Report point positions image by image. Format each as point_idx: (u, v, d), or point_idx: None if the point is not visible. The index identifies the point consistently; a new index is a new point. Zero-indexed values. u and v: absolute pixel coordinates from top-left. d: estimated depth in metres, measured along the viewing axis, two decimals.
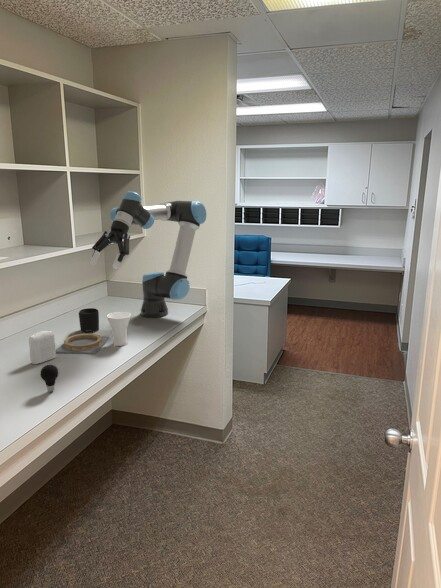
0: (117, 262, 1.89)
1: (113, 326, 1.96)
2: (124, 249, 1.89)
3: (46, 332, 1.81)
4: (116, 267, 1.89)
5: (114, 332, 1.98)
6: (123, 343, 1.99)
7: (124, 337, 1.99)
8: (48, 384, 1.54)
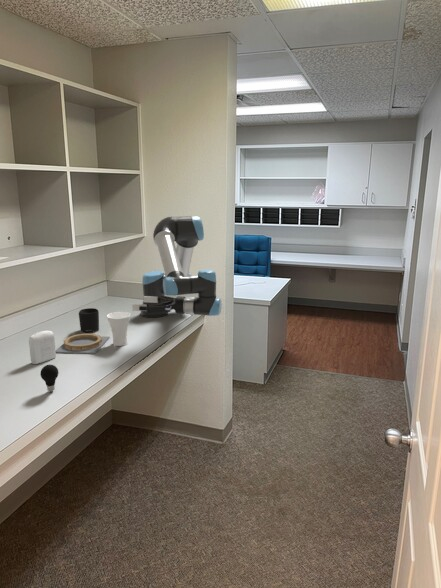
0: None
1: (113, 326, 1.96)
2: None
3: (46, 332, 1.81)
4: None
5: (114, 332, 1.98)
6: (123, 343, 1.99)
7: (124, 337, 1.99)
8: (48, 384, 1.54)
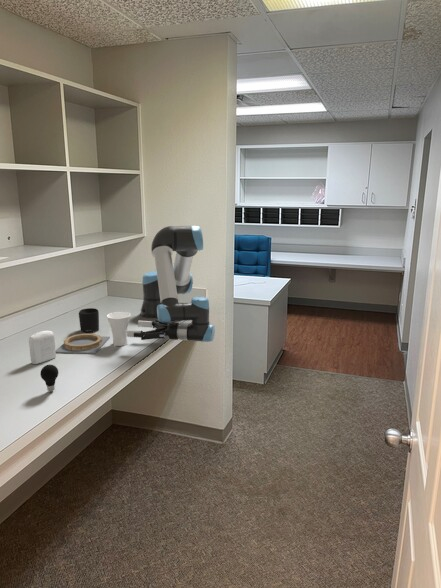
0: None
1: (113, 326, 1.96)
2: None
3: (46, 332, 1.81)
4: None
5: (114, 332, 1.98)
6: (123, 343, 1.99)
7: (124, 337, 1.99)
8: (48, 384, 1.54)
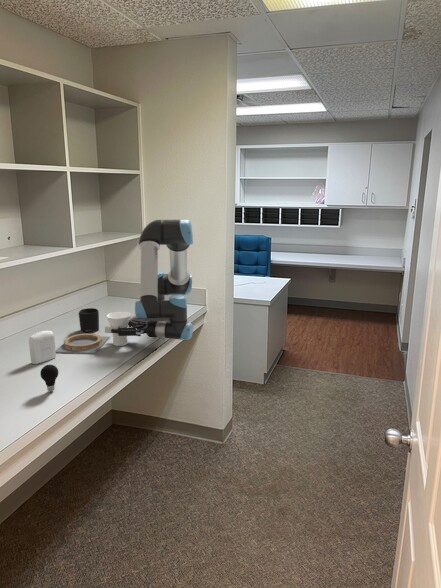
0: None
1: (113, 326, 1.96)
2: None
3: (46, 332, 1.81)
4: None
5: None
6: (123, 343, 1.99)
7: (124, 337, 1.99)
8: (48, 384, 1.54)
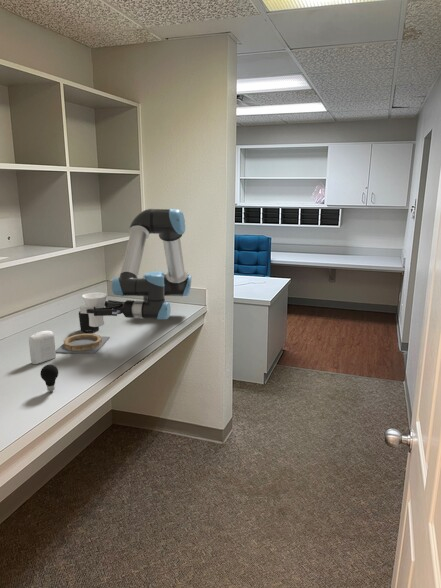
0: None
1: (89, 306, 1.91)
2: None
3: (46, 332, 1.81)
4: None
5: None
6: (99, 324, 1.95)
7: (100, 318, 1.95)
8: (48, 384, 1.54)
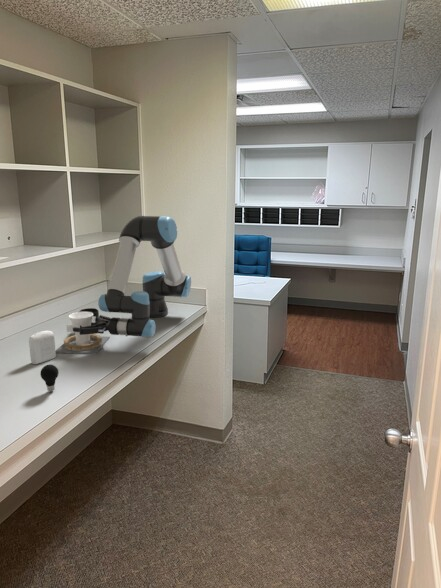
0: None
1: None
2: None
3: (46, 332, 1.81)
4: None
5: (76, 332, 1.96)
6: (86, 343, 1.97)
7: (87, 337, 1.97)
8: (48, 384, 1.54)
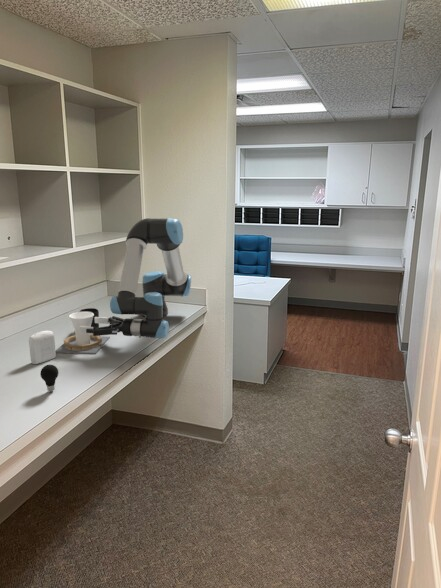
0: None
1: (75, 326, 1.94)
2: None
3: (46, 332, 1.81)
4: None
5: (76, 332, 1.96)
6: (86, 343, 1.97)
7: (87, 337, 1.97)
8: (48, 384, 1.54)
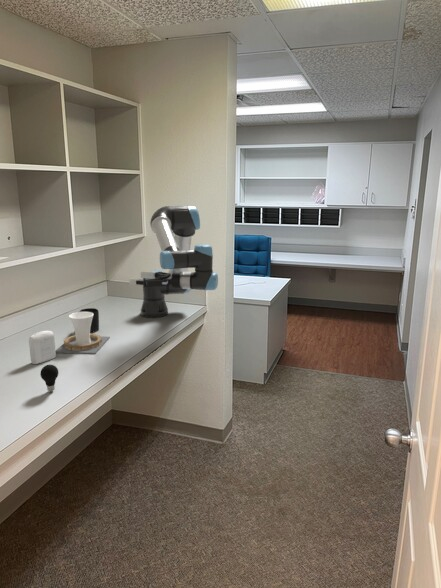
0: None
1: (75, 326, 1.94)
2: None
3: (46, 332, 1.81)
4: None
5: (76, 332, 1.96)
6: (86, 343, 1.97)
7: (87, 337, 1.97)
8: (48, 384, 1.54)
